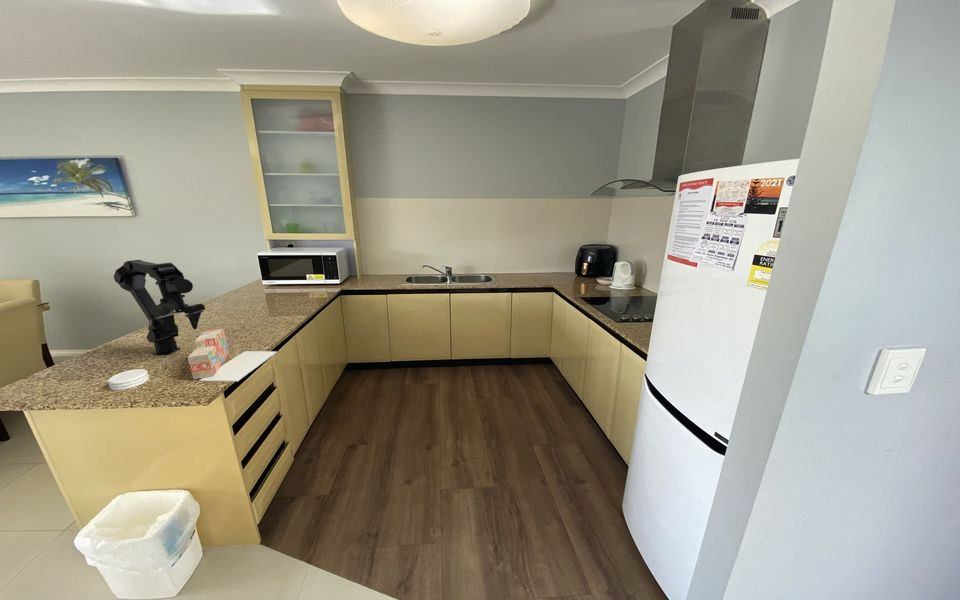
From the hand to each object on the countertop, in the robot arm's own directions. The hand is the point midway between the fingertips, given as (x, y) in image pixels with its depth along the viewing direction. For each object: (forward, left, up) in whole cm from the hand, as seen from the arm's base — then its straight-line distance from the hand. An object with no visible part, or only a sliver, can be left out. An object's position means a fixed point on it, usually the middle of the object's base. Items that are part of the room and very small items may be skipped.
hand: (184, 330), depth 133 cm
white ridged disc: (-5, -20, -13) cm, 25 cm away
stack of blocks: (+15, -7, -13) cm, 21 cm away
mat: (+25, -6, -13) cm, 29 cm away
